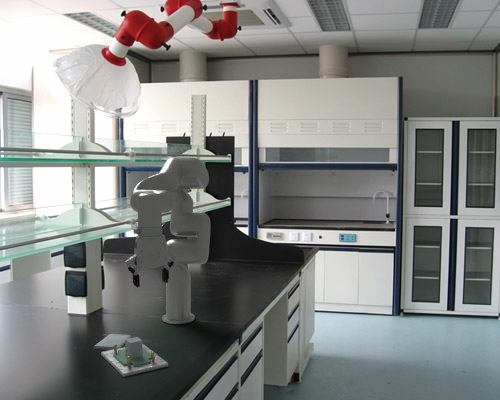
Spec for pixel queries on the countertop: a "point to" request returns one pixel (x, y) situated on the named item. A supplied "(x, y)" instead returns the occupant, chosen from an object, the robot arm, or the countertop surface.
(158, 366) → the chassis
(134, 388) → the countertop surface
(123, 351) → the board
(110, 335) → the hard drive
